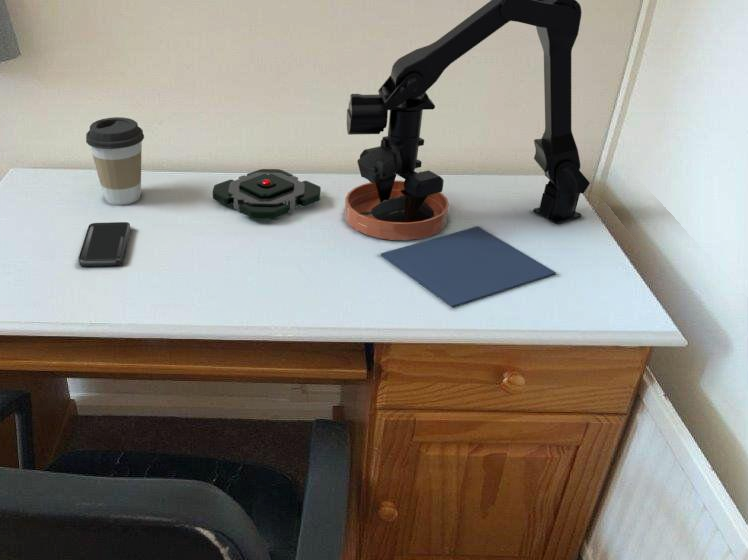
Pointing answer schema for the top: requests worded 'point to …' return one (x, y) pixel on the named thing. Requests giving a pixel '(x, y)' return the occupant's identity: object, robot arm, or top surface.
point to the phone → (105, 244)
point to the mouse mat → (466, 265)
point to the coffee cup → (117, 158)
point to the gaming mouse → (398, 211)
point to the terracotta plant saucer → (367, 199)
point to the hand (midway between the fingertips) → (395, 213)
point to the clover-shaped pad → (266, 193)
